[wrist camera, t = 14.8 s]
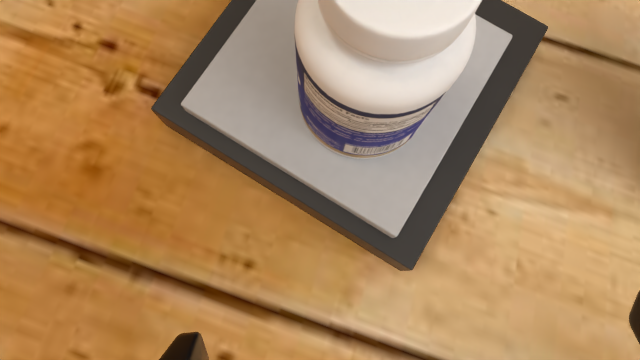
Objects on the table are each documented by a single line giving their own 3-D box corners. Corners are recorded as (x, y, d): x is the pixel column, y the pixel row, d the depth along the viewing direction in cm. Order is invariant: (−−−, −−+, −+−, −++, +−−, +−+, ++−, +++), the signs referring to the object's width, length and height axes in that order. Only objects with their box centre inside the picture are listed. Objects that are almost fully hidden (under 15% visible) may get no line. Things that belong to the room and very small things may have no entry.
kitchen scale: (526, 49, 23) (558, 16, 20) (401, 271, 20) (416, 270, 18) (309, -72, 24) (310, -121, 21) (165, 124, 22) (143, 101, 19)
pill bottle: (334, 23, 20) (357, -176, 11) (443, 77, 19) (556, -85, 11) (275, 126, 19) (247, -4, 10) (389, 185, 18) (465, 104, 10)
